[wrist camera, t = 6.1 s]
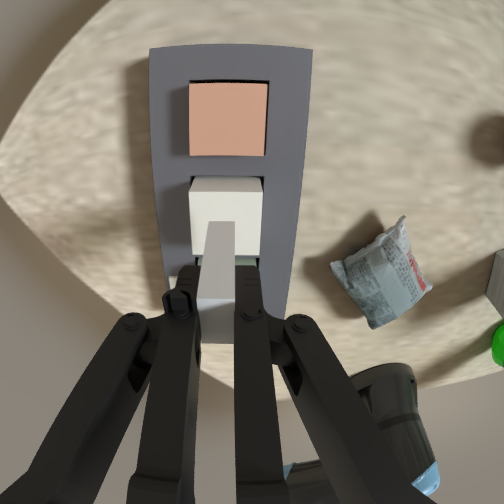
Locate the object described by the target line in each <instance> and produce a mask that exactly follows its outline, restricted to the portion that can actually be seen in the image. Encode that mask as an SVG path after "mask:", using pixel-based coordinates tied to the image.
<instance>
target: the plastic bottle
mask: <svg viewBox="0 0 504 504" xmlns="http://www.w3.org/2000/svg"><path fill="white" fill-rule="evenodd" d="M492 358H493V360H494V361H495V363H497V364H498V365H500V366H502V367H504V323H503V324H502V325H501V326H500V327H499V328H498V329H497V330H496V332H495V334H494V335H493V342H492Z"/></svg>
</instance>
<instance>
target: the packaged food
mask: <svg viewBox="0 0 504 504" xmlns="http://www.w3.org/2000/svg"><path fill="white" fill-rule="evenodd" d="M404 218H405V216H404V215H403V216H401V217H400V218H399V220H398V222H397V223H396V225H395V226H393V227H390V228H389V229H388V230H387V231H386V232H385V233H382V234H380V235H379V236H377V237H376V238H375V240H374V241H373V242H372V243H371V244H367V245H366V246H364V247H363V248H362V249H360V250H359V251H358V252H357V253H356V254H354V255H352V256H351V255H349V256H348V257H347V258H346V259H344V260H341V259H340V261H337V262H336V261H335V262H332V261H331V263H330V265H329V267H330V269H331V271H332V273H333V274H334V275H335V277H336V278H337V280H338V281H339V282H340V284H341V285H342V286H343V288H344V289H345V290H346V292H347V293H348V295H349V296H350V297H351V298H352V299H353V301H354V302H355V303H356V304H357V305H358V307H359V309H360V311H361V312H362V313H363V315H365V317H366V319H367V322H368V325H369V327H370V328H371V329H376V328H378V327H380V326H382V325H384V324H386V323H388V322H390V321H392V320H395V319H397V318H398V317H399V316H401V315H402V314H403V313H404V312H406V311H407V310H409V309H410V308H411V307H412V306H413V305H414V304H415V303H416V302H418V301H419V300H420V299H421V298H422V297H423V295H424V294H425V293H426V292H428V291H430V290H431V289H432V283H430V282H429V281H427V280H426V279H425V278H424V277H423V276H422V274H421V272H420V270H419V267H418V265H417V263H416V261H415V257H414V256H413V255H412V252H411V247H410V244H409V240H408V236H407V232H406V227H405V221H404Z"/></svg>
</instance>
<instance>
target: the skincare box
mask: <svg viewBox="0 0 504 504" xmlns="http://www.w3.org/2000/svg"><path fill="white" fill-rule="evenodd" d="M486 297H487V298H488V299H489V300H490V302H491V303H492V304H493V306H494V307H495V308H496V310H497V311H498V312H499V314H500V315H501V317H502V318H503V319H504V249H503V250H500V251H498V252H496V254H495V259H494V263H493V268H492V272H491V276H490V280H489V284H488V288H487V292H486Z"/></svg>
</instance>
